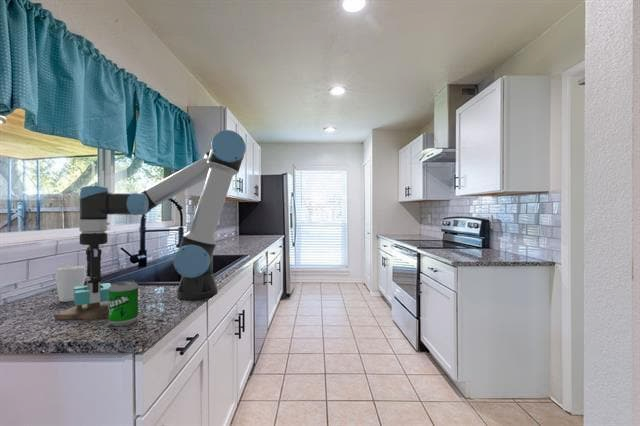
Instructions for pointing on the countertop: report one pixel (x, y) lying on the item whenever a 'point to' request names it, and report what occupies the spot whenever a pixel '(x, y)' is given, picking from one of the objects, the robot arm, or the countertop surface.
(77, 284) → the cup
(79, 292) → the teal u-shaped block
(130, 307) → the soda can
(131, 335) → the countertop surface
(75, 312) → the post fixture
